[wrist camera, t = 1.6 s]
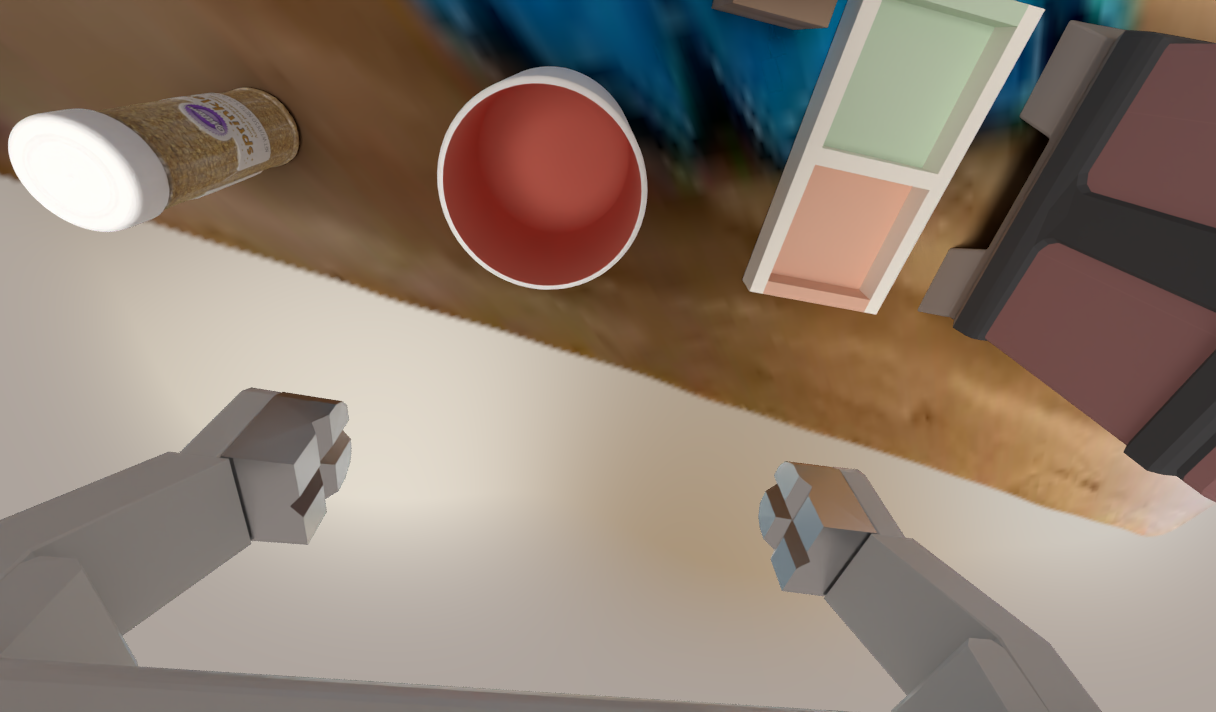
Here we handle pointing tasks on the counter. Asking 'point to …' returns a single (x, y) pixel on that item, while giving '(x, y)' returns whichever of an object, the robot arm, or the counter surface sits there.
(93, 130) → the sprinkles bottle
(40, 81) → the counter surface
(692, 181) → the counter surface
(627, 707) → the robot arm
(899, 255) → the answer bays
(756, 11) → the walnut block
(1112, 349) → the toaster
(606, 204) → the cup
